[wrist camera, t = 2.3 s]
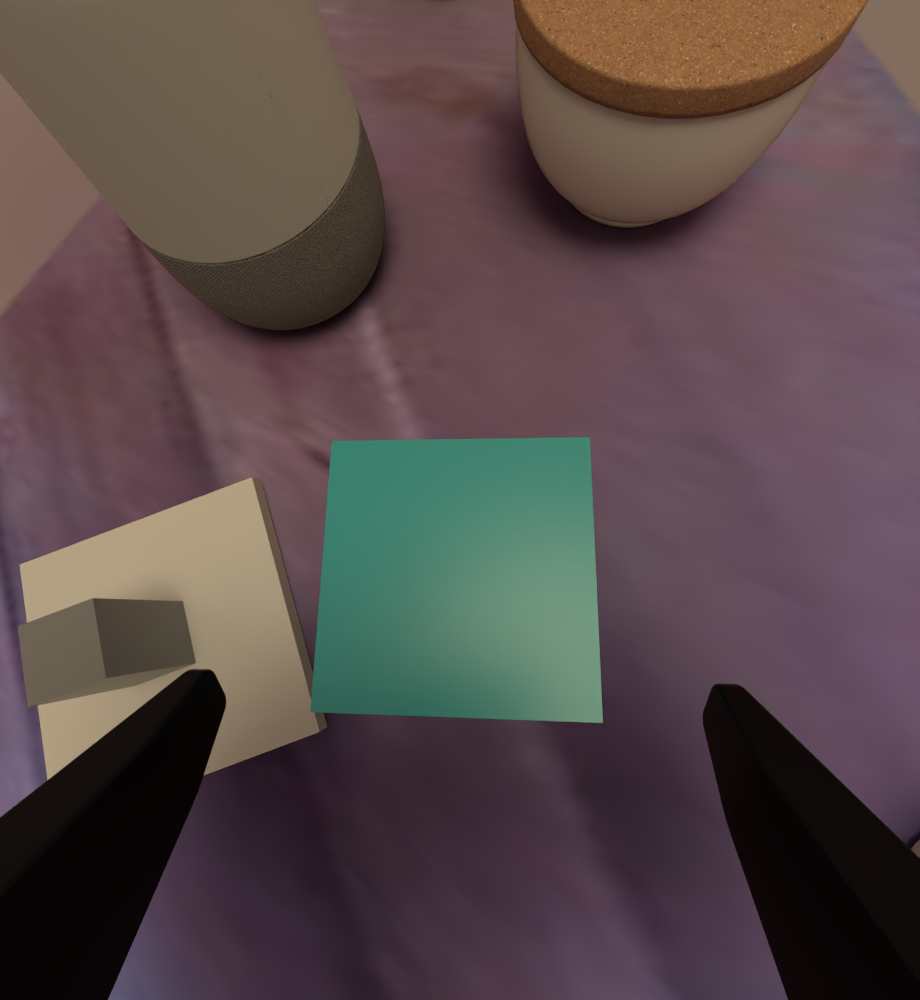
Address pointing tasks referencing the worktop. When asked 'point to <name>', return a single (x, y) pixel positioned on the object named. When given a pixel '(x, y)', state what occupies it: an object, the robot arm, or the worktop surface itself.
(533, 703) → the teal square pillar
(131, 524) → the post block
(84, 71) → the smart speaker
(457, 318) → the worktop surface
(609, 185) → the lidded jar
